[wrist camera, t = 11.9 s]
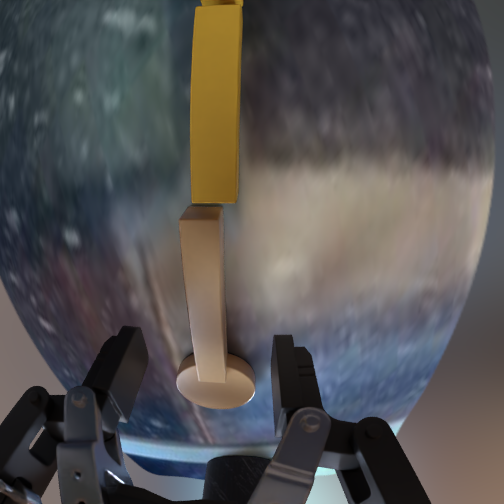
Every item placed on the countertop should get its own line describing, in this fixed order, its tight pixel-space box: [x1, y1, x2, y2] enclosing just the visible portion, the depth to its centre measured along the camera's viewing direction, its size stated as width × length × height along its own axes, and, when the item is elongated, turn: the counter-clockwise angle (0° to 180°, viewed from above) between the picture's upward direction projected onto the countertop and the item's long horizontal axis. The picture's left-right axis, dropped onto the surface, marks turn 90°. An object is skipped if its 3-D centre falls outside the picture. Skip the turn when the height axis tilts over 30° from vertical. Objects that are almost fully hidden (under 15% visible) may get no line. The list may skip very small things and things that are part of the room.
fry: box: [190, 4, 243, 203], centre depth 8 cm, size 7×2×2 cm, turn 178°
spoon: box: [176, 207, 255, 409], centre depth 12 cm, size 12×4×2 cm, turn 179°
